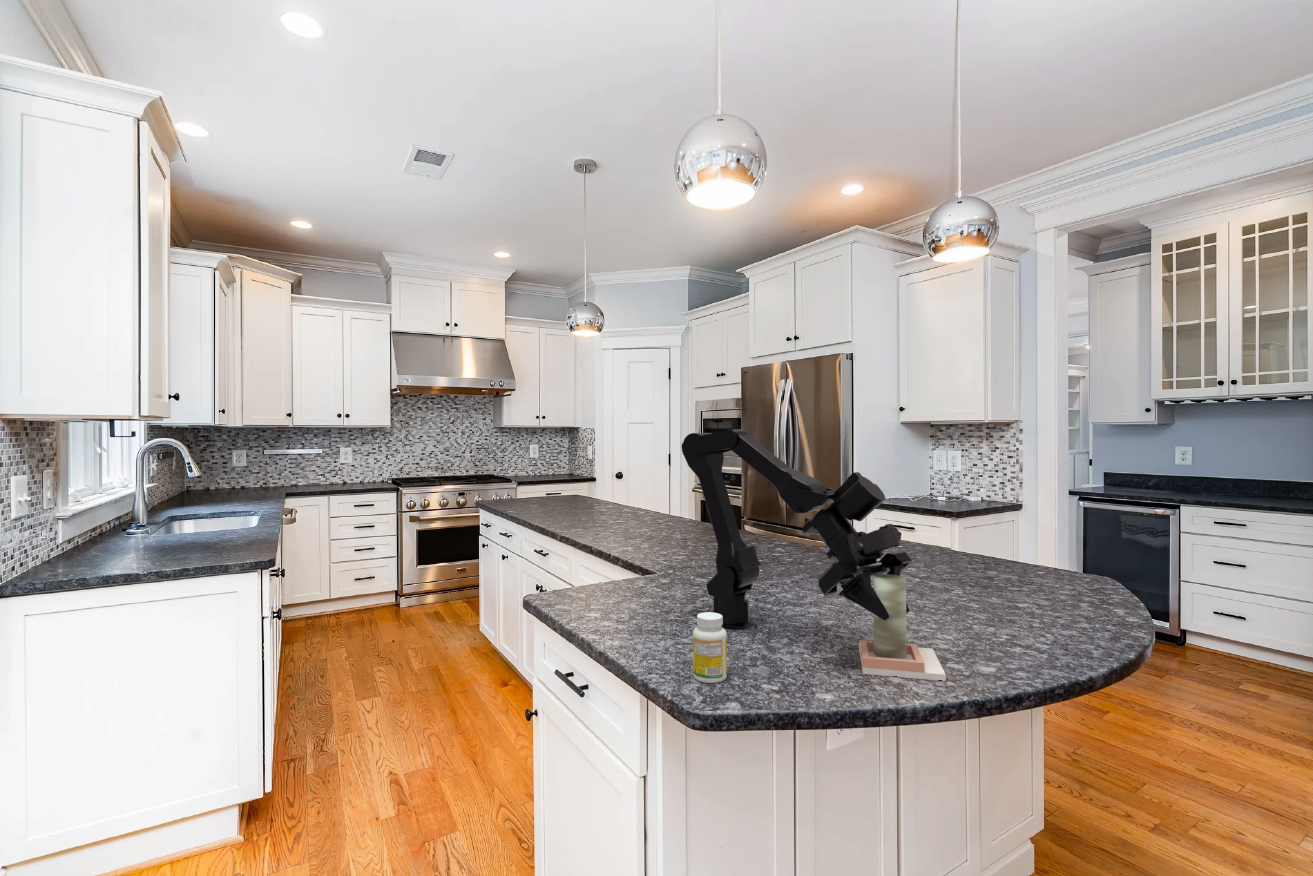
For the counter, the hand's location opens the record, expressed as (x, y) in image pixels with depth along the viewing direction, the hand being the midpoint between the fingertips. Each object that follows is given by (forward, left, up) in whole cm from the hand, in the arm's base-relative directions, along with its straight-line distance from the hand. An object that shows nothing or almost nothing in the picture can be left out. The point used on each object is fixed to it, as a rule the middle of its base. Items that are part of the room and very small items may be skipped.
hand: (897, 616), depth 99 cm
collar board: (+1, +2, -8) cm, 9 cm away
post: (-1, +1, -7) cm, 7 cm away
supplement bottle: (-29, -11, -9) cm, 32 cm away
